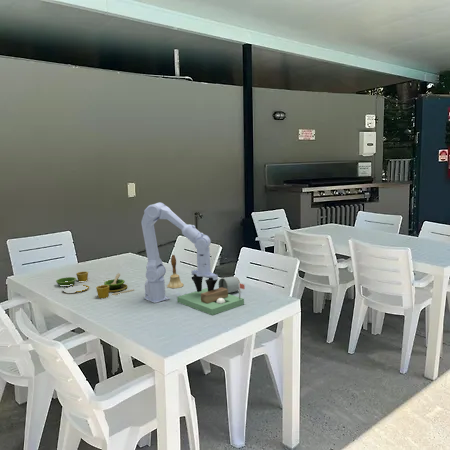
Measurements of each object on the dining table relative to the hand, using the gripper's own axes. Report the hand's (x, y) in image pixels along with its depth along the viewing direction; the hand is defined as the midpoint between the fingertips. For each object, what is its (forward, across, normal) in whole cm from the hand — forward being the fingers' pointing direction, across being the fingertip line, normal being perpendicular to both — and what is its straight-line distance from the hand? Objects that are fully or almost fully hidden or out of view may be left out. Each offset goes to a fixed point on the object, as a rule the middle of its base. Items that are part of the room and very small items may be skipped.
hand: (205, 292), depth 196 cm
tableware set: (+5, -60, -20) cm, 64 cm away
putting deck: (+4, +3, 0) cm, 5 cm away
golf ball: (+2, +10, -1) cm, 11 cm away
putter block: (+1, +7, -1) cm, 7 cm away
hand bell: (+4, -29, +8) cm, 30 cm away
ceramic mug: (+4, -1, +16) cm, 17 cm away
